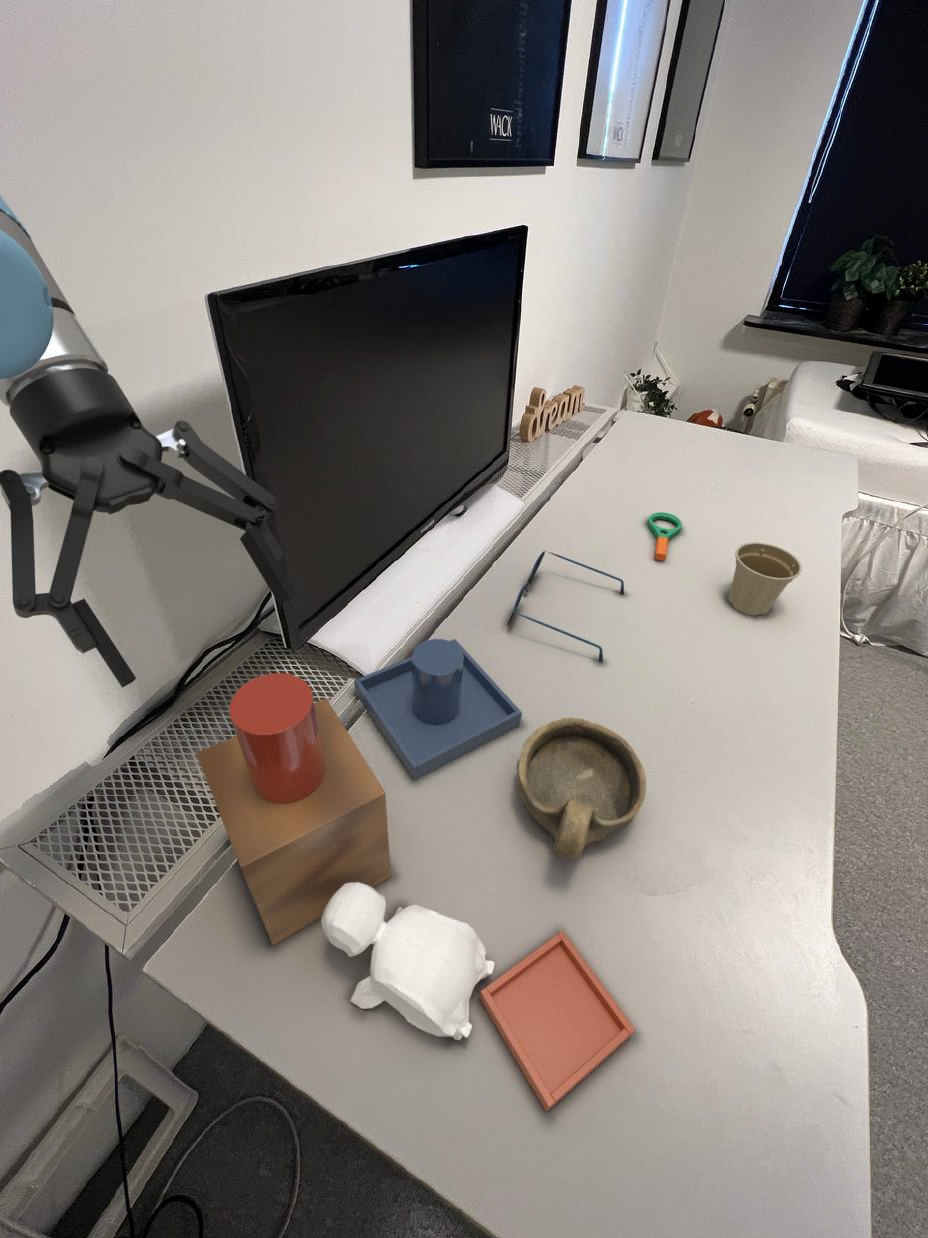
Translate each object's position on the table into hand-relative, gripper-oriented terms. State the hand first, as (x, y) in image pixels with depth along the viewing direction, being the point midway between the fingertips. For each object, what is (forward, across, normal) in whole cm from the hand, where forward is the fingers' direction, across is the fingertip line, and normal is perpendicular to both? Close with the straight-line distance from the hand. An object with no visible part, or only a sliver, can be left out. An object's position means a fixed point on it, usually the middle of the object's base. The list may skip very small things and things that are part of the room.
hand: (215, 638), depth 47 cm
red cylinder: (+13, 0, -2) cm, 13 cm away
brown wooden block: (+23, 0, -13) cm, 26 cm away
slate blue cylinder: (+20, -23, -16) cm, 34 cm away
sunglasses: (+21, -50, -16) cm, 57 cm away
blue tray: (+20, -23, -16) cm, 34 cm away
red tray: (+42, -6, +6) cm, 43 cm away
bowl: (+35, -23, -2) cm, 41 cm away
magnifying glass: (+21, -80, -15) cm, 84 cm away
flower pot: (+34, -73, -2) cm, 81 cm away
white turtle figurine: (+34, +1, -3) cm, 34 cm away
